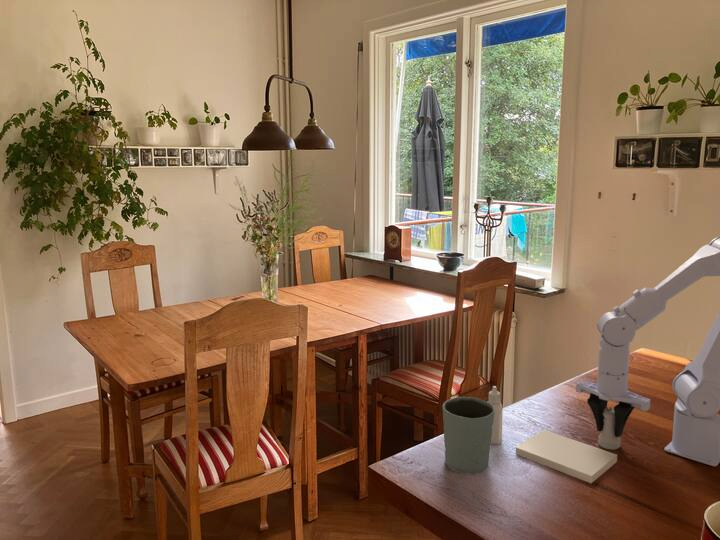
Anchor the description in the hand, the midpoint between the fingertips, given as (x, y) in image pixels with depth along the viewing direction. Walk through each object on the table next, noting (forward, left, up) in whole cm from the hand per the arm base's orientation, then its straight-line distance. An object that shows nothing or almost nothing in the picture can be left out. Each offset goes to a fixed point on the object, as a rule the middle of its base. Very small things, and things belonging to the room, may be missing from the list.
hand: (609, 432), depth 122 cm
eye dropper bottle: (+19, +14, -3) cm, 24 cm away
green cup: (+17, +26, -3) cm, 31 cm away
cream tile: (+4, +11, -3) cm, 12 cm away
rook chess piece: (0, 0, -3) cm, 3 cm away
